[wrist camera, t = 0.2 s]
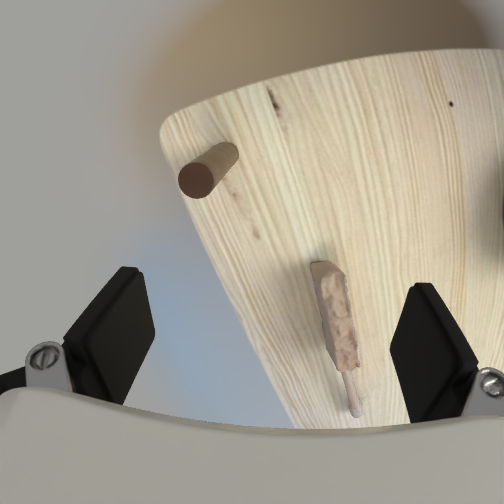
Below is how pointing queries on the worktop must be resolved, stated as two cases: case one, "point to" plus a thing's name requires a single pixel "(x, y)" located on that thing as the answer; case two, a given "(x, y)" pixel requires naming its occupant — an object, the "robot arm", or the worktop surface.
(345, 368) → the tan handled block
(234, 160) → the stick
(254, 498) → the robot arm
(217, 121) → the worktop surface
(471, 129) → the worktop surface
